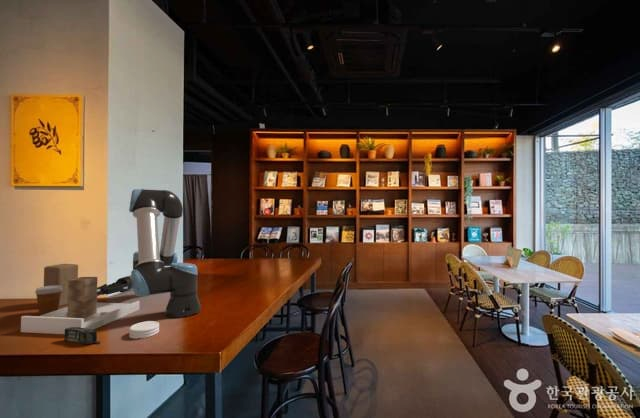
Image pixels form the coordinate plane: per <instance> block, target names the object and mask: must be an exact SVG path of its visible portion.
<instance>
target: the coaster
mask: <svg viewBox="0 0 640 418" xmlns="http://www.w3.org/2000/svg"><path fill="white" fill-rule="evenodd" d="M128 332H129V335H128V337H129V338H130V339H132V338H133V339H132V340H139V339H138V338H143V339H147V338H146V337H148V338H151V337H154V336H155V334H156V335H157V334H158V333H159V332H160V323H159V321H155V320H147V321H142V322H138V323H134V324H132V325H131V326H130V327H129V330H128ZM153 335H154V336H153ZM150 336H151V337H150Z"/></svg>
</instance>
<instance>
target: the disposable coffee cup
mask: <svg viewBox="0 0 640 418" xmlns="http://www.w3.org/2000/svg"><path fill="white" fill-rule="evenodd" d="M62 289H63V288H62V286H61V285H52V286H44V285H43V286H40V287H37V288H36V290H35V292H34V293H35V294H36V301H37V307H38V314H39V315H38V316H41V315H44V314H47V313H50V312H53V311H56V310H59V307H58V306H59V301H60V295H61V291H62Z"/></svg>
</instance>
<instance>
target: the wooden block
mask: <svg viewBox="0 0 640 418" xmlns="http://www.w3.org/2000/svg"><path fill="white" fill-rule="evenodd" d="M75 278H79V264H77V263H59V264H53V265H47V266H44V268H43V287H44V286H52V285H61V286H62V288H63V289H62V291H61V295H60V301H59V306H58V308H60V307H63V306H68V280H72V279H75Z"/></svg>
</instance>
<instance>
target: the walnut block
mask: <svg viewBox="0 0 640 418" xmlns="http://www.w3.org/2000/svg"><path fill="white" fill-rule="evenodd" d="M97 287H98V276H80V277H79V276H78V278H75V279H72V280H68V304H67V307H68V312H67V318H84V319H85V318H87V317H89V316H91V315H93V314H95V313H97V302H98V296H97Z"/></svg>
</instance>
